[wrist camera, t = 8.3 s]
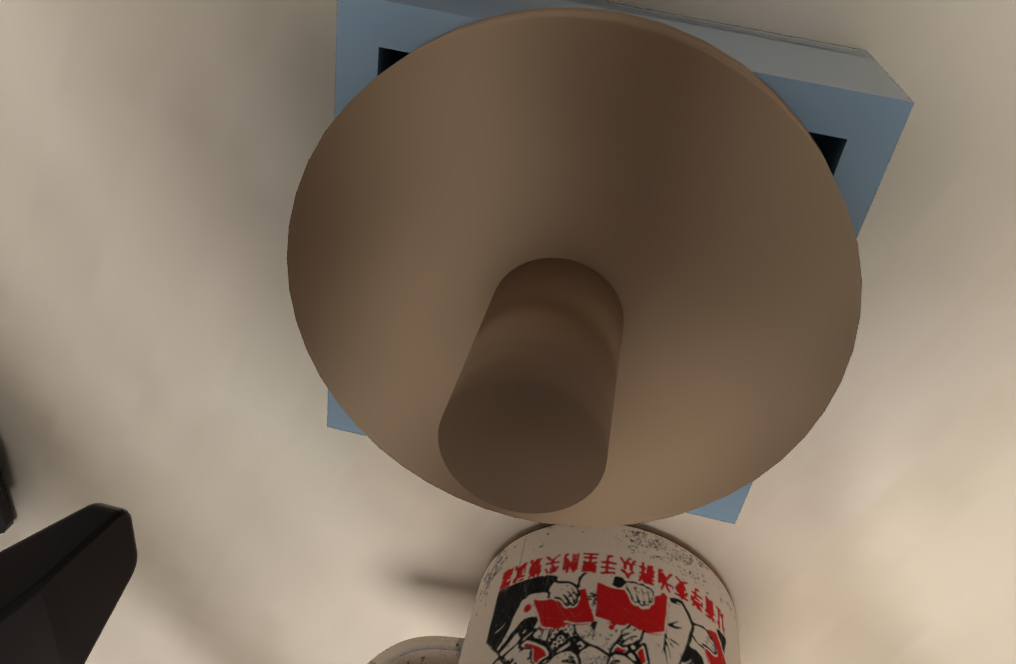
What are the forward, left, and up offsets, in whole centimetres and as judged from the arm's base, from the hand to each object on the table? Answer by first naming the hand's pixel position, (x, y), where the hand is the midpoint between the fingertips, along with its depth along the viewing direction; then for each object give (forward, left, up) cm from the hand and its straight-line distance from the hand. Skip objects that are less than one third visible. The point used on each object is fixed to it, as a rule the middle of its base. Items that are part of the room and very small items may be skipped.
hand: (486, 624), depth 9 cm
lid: (0, 0, -8) cm, 8 cm away
